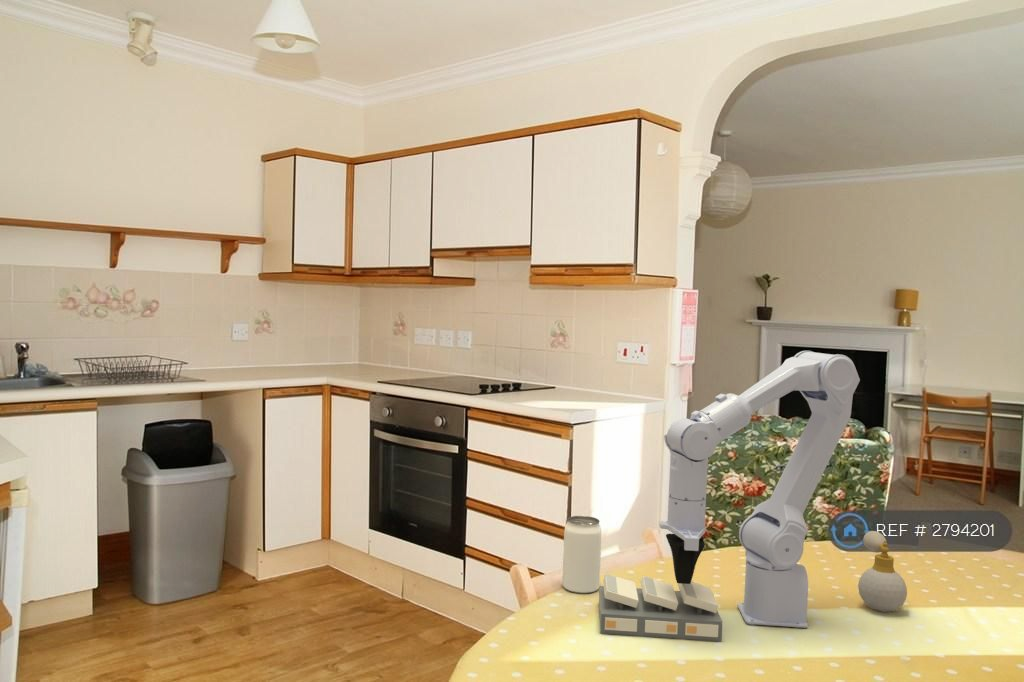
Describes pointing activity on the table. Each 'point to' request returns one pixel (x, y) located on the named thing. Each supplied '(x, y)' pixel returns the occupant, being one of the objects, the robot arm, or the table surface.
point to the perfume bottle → (881, 578)
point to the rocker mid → (659, 593)
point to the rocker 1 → (620, 590)
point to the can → (582, 554)
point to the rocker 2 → (698, 596)
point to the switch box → (658, 619)
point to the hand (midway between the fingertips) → (683, 582)
